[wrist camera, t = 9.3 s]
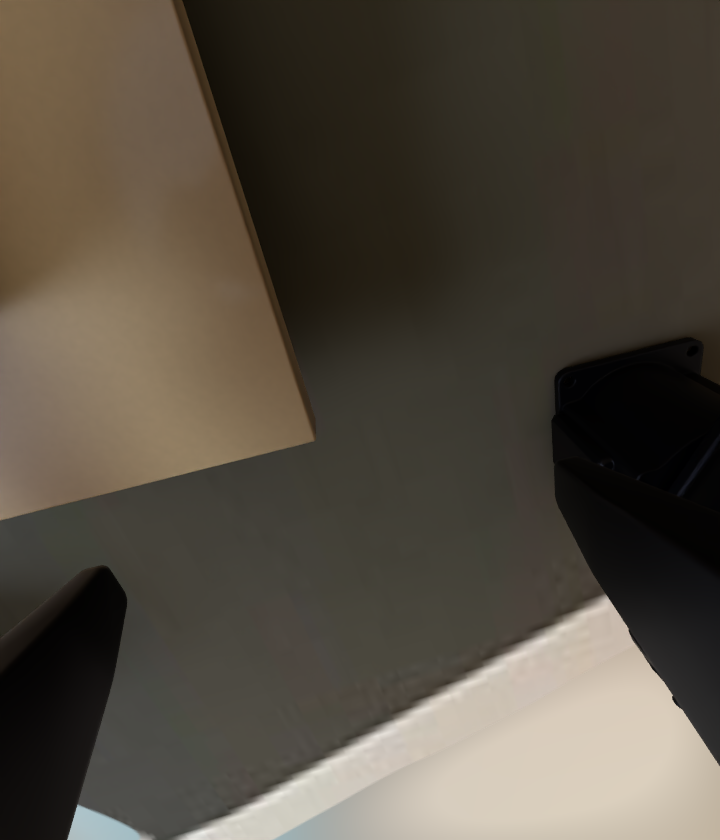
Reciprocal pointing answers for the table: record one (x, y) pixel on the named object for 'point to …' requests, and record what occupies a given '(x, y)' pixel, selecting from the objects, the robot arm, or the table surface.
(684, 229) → the table surface
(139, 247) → the board
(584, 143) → the table surface
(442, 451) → the table surface
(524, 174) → the table surface
